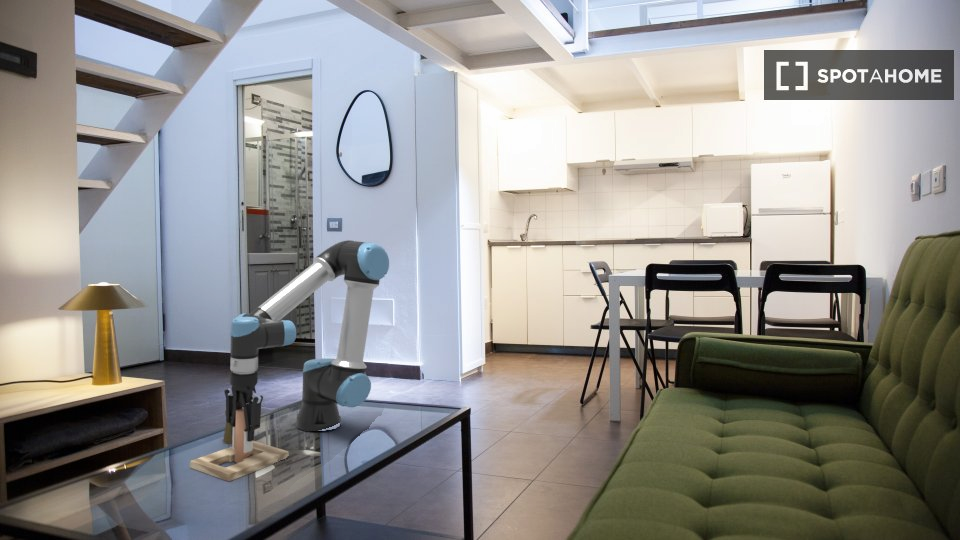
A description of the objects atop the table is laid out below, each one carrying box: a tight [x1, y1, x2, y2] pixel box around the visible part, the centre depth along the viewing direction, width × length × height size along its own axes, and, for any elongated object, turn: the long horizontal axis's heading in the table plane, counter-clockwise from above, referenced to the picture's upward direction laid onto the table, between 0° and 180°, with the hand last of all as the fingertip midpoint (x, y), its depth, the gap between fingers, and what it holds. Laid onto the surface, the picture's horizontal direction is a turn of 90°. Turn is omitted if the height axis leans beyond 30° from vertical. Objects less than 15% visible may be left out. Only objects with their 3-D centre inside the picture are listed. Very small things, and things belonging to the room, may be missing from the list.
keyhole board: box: [189, 440, 290, 482], centre depth 199 cm, size 22×16×2 cm
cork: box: [222, 410, 232, 445], centre depth 216 cm, size 6×6×11 cm
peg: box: [234, 407, 250, 464], centre depth 198 cm, size 4×4×15 cm
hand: (242, 449), depth 199 cm, fingers closed on peg, 4 cm apart
